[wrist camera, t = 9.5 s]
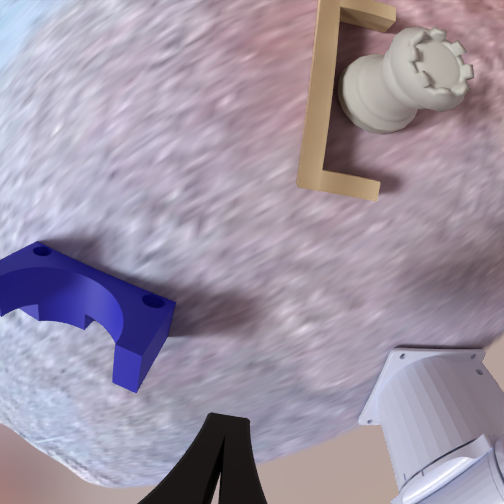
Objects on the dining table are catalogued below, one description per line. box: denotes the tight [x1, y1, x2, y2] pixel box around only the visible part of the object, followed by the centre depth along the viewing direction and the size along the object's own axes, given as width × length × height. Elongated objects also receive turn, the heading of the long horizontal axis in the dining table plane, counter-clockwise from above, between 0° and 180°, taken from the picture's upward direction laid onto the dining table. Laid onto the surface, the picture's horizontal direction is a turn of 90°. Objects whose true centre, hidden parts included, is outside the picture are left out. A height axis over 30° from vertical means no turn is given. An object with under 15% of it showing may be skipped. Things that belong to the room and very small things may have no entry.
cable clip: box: [0, 241, 176, 393], centre depth 17 cm, size 12×4×6 cm, turn 71°
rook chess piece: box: [338, 26, 474, 134], centre depth 10 cm, size 4×4×8 cm
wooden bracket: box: [296, 0, 396, 202], centre depth 13 cm, size 4×11×2 cm, turn 173°
